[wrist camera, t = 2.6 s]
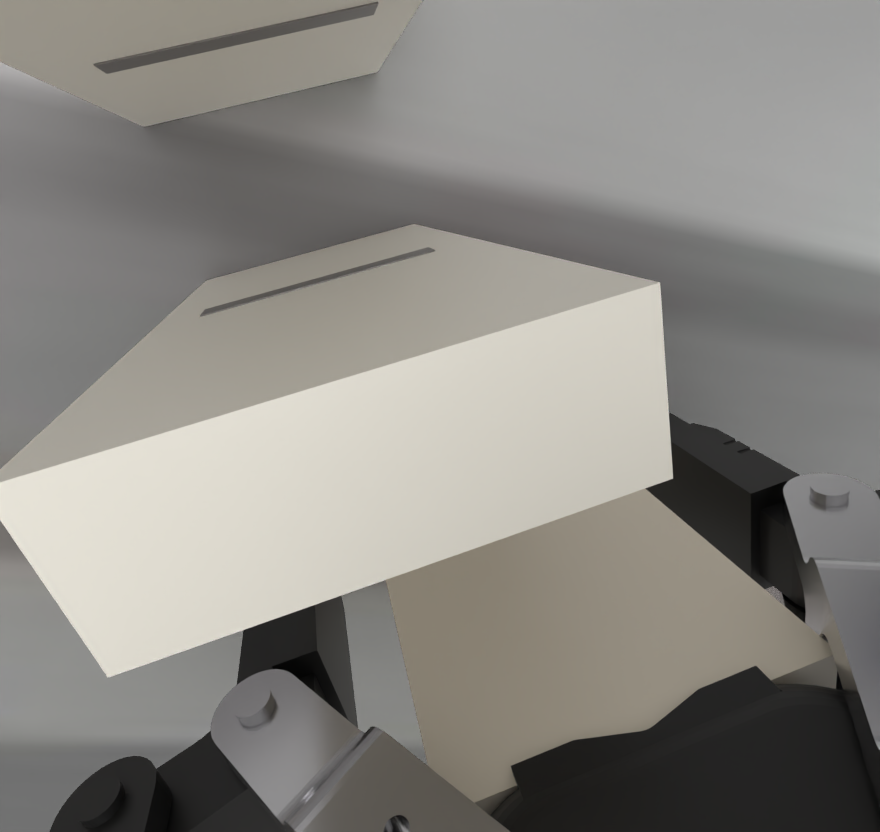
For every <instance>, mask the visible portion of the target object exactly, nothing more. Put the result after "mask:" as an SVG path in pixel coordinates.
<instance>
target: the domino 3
mask: <svg viewBox="0 0 880 832" xmlns="http://www.w3.org/2000/svg"><path fill="white" fill-rule="evenodd" d="M386 584H387V588H388V592H389V597H390V601H391V606H392V610H393V614H394V619H395V623H396V628H397V632H398V636H399V641H400V645H401V649H402V654H403V658H404V663H405V667H406V671H407V676H408V680H409V685H410V689H411V693H412V698H413V702H414V706H415V711H416V715H417V720H418V724H419V728H420V733H421V737H422V742H423V746H424V750H425V755H426V759H427V763H428V767H430V768H431V769H432V770H433V771H435V772H436V773H437V774H438V775H440V776H441V777H442V778H443V779H445V780H446V781H447V782H449V783H450V784H451V785H452V786H454V787H455V788H456V789H457V790H459V791H460V792H461V793H462V794H464V795H465V796H466V797H467V798H469V799H470V800H471V801H472V802H474V803H475V804H476V805H477V806H479V807H480V808H481V809H482V810H484V811H485V812H486V813H488V814H489V815H491V814H492V812H493V811H494V810H495V809H496V808H497V807H498V806H499V805H500V804H501V803H502V802H503V801H504V800H505V799H506V798H507V797H508V796H509V795H511V794H512V793H513V792H514V791H515V790H517V789H518V787H517V784H516V781H515V778H514V776H513V773H512V769H511V766H512V765H514V764H516V763H519V762H521V761H524V760H526V759H529V758H531V757H534V756H536V755H538V754H541V753H543V752H546V751H548V750H551V749H553V748H556V747H558V746H560V745H563V744H565V743H568V742H570V741H573V740H578V739H585V738H593V737H601V736H608V735H616V734H623V733H631V732H639V731H644V730H647V729H649V728H651V727H652V726H654V725H655V724H656V723H657V722H659V721H660V720H661V719H662V718H664V717H665V716H666V715H667V714H668V713H670V712H671V711H672V710H673V709H675V708H676V707H677V706H678V705H680V704H681V703H682V702H683V701H684V700H686V699H687V698H688V697H689V696H691V695H692V694H693V693H694V692H695V691H697V690H698V689H700V688H702V687H705V686H707V685H710V684H712V683H714V682H717V681H719V680H722V679H724V678H727V677H729V676H732V675H734V674H736V673H739V672H741V671H744V670H746V669H749V668H751V667H754V666H757V667H758V668H759V669H760V670H761V671H762V672H763V673H764V674H765V675H766V676H767V677H768V678H769V679H770V680H771V681H772V682H773V683H774V684H775V685H776V684H806V685H817V686H822V687H828V688H834V689H836V681H837V667H836V664H835V661H834V658H833V654H832V651H831V648H830V645H829V643H828V642H826V641H825V640H824V639H823V638H820V637H819V635H818V634H817V633H816V632H815V631H813V630H812V629H811V628H810V627H809V626H807V625H806V624H805V623H804V622H803V621H802V620H800V619H799V618H798V617H797V616H796V615H794V614H793V613H792V612H791V611H790V610H789V609H787V608H786V607H785V606H784V605H783V604H781V603H780V602H779V601H778V600H777V599H775V598H774V597H773V596H772V595H771V594H770V593H768V592H767V591H766V590H765V589H764V588H762V587H761V586H760V585H759V584H758V583H757V582H755V581H754V580H753V579H752V578H751V577H749V576H748V575H747V574H746V573H745V572H743V571H742V570H741V569H740V568H739V567H738V566H736V565H735V564H734V563H733V562H732V561H730V560H729V559H728V558H727V557H726V556H725V555H723V554H722V553H721V552H720V551H719V550H717V549H716V548H715V547H714V546H713V545H711V544H710V543H709V542H708V541H707V540H706V539H704V538H703V537H702V536H701V535H700V534H698V533H697V532H696V531H695V530H694V529H693V528H691V527H690V526H689V525H688V524H687V523H685V522H684V521H683V520H682V519H681V518H679V517H678V516H677V515H676V514H675V513H674V512H672V511H671V510H670V509H669V508H668V507H666V506H665V505H664V504H663V503H662V502H661V501H659V500H658V499H657V498H656V497H655V496H653V495H652V494H651V493H650V492H649V491H647V490H646V489H642V490H639V491H636V492H634V493H631V494H628V495H625V496H622V497H619V498H616V499H614V500H611V501H608V502H605V503H602V504H599V505H597V506H594V507H591V508H588V509H585V510H582V511H580V512H577V513H574V514H571V515H568V516H565V517H563V518H560V519H557V520H554V521H551V522H548V523H546V524H543V525H540V526H537V527H534V528H531V529H529V530H526V531H523V532H520V533H517V534H514V535H512V536H509V537H506V538H503V539H500V540H497V541H495V542H492V543H489V544H486V545H483V546H480V547H477V548H475V549H472V550H469V551H466V552H463V553H460V554H458V555H455V556H452V557H449V558H446V559H443V560H441V561H438V562H435V563H432V564H429V565H426V566H424V567H421V568H418V569H415V570H412V571H409V572H407V573H404V574H401V575H398V576H395V577H392V578H390V579H387V580H386Z"/></svg>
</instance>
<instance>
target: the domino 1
mask: <svg viewBox="0 0 880 832" xmlns="http://www.w3.org/2000/svg"><path fill="white" fill-rule="evenodd" d="M422 2H423V0H0V62H2V63H4V64H6V65H8V66H11V67H13V68H15V69H17V70H19V71H22V72H24V73H26V74H28V75H30V76H33V77H35V78H37V79H39V80H41V81H44V82H46V83H48V84H50V85H52V86H55V87H57V88H59V89H61V90H63V91H66V92H68V93H70V94H72V95H74V96H77V97H79V98H81V99H83V100H85V101H88V102H90V103H92V104H94V105H96V106H99V107H101V108H103V109H105V110H107V111H109V112H112V113H114V114H116V115H118V116H120V117H123V118H125V119H127V120H129V121H131V122H134V123H136V124H138V125H140V126H142V127H146V126H151V125H155V124H159V123H163V122H168V121H172V120H176V119H180V118H185V117H189V116H193V115H198V114H202V113H206V112H210V111H215V110H219V109H223V108H227V107H232V106H236V105H240V104H244V103H249V102H253V101H257V100H262V99H266V98H270V97H274V96H279V95H283V94H287V93H291V92H296V91H300V90H304V89H308V88H313V87H317V86H321V85H325V84H330V83H334V82H338V81H343V80H347V79H351V78H355V77H360V76H364V75H368V74H372V73H377V72H378V71H379V69H380V67H381V66H382V64H383V63H384V61H385V60H386V58H387V56H388V55H389V53H390V52H391V50H392V49H393V47H394V45H395V44H396V42H397V41H398V39H399V38H400V36H401V34H402V33H403V31H404V30H405V28H406V27H407V25H408V24H409V22H410V20H411V19H412V17H413V16H414V14H415V13H416V11H417V9H418V8H419V6H420V5H421V3H422Z"/></svg>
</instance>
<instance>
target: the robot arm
mask: <svg viewBox="0 0 880 832" xmlns="http://www.w3.org/2000/svg"><path fill="white" fill-rule="evenodd" d="M669 423H670V438H671V453H672V468H673V479H670V480H668V481H665V482H662V483H659V484H656V485H653V486H651V487H648V488H645V489H646V490H647V491H649V492H650V493H651V494H652V495H653V496H655V497H656V498H657V499H658V500H659V501H661V502H662V503H663V504H664V505H665V506H666V507H668V508H669V509H670V510H671V511H672V512H674V513H675V514H676V515H677V516H678V517H679V518H681V519H682V520H683V521H684V522H685V523H687V524H688V525H689V526H690V527H691V528H693V529H694V530H695V531H696V532H697V533H698V534H700V535H701V536H702V537H703V538H704V539H706V540H707V541H708V542H709V543H710V544H711V545H713V546H714V547H715V548H716V549H717V550H719V551H720V552H721V553H722V554H723V555H725V556H726V557H727V558H728V559H729V560H730V561H732V562H733V563H734V564H735V565H736V566H738V567H739V568H740V569H741V570H742V571H743V572H745V573H746V574H747V575H748V576H749V577H751V578H752V579H753V580H754V581H755V582H757V583H758V584H759V585H760V586H761V587H762V588H764V589H767V588H769V587H772V586H774V587H775V588H777V589H778V590H779V591H780V603H781V604H783V605H784V606H785V607H786V608H787V609H789V610H790V611H791V612H792V613H793V614H794V615H796V616H797V617H798V618H799V619H800V620H802V621H803V622H804V623H805V624H806V625H807V626H809V627H810V628H811V629H812V630H813V631H815V632H816V633H817V634H818V635H819V637H820V638H823V639H824V640H825V641H826V642H828V643H829V645H830V648H831V651H832V654H833V658H834V661H835V664H836V667H837V681H836V689H834V688H828V687H822V686H817V685H806V684H776V685H775V684H774V683H773V682H772V681H771V680H770V679H769V678H768V677H767V676H766V675H765V674H764V673H763V672H762V671H761V670H760V669H759V668H758V667H757V666H754V667H751V668H749V669H746V670H744V671H741V672H739V673H736V674H734V675H732V676H729V677H727V678H724V679H722V680H719V681H717V682H714V683H712V684H710V685H707V686H705V687H702V688H700V689H698V690H697V691H695V692H694V693H693V694H692V695H691V696H689V697H688V698H687V699H686V700H684V701H683V702H682V703H681V704H680V705H678V706H677V707H676V708H675V709H673V710H672V711H671V712H670V713H668V714H667V715H666V716H665V717H664V718H662V719H661V720H660V721H659V722H657V723H656V724H655V725H654V726H652V727H651V728H649V729H647V730H644V731H639V732H631V733H623V734H616V735H608V736H601V737H593V738H585V739H578V740H573V741H570V742H568V743H565V744H563V745H560V746H558V747H556V748H553V749H551V750H548V751H546V752H543V753H541V754H538V755H536V756H534V757H531V758H529V759H526V760H524V761H521V762H519V763H516V764H514V765H512V766H511V769H512V773H513V776H514V778H515V781H516V784H517V787H518V789H517V790H515V791H514V792H513V793H512V794H511V795H509V796H508V797H507V798H506V799H505V800H504V801H503V802H502V803H501V804H500V805H499V806H498V807H497V808H496V809H495V810H494V811H493V812H492V814H491V815H489V814H488V813H486V812H485V811H484V810H482V809H481V808H480V807H479V806H477V805H476V804H475V803H474V802H472V801H471V800H470V799H469V798H467V797H466V796H465V795H464V794H462V793H461V792H460V791H459V790H457V789H456V788H455V787H454V786H452V785H451V784H450V783H449V782H447V781H446V780H445V779H443V778H442V777H441V776H440V775H438V774H437V773H436V772H435V771H433V770H432V769H431V768H430V767H428V766H427V765H426V764H425V763H423V762H422V761H421V760H420V759H418V758H417V757H416V756H415V755H413V754H412V753H411V752H410V751H408V750H407V749H406V748H404V747H403V746H402V745H401V744H399V743H398V742H397V741H396V740H394V739H393V738H392V737H391V736H389V735H388V734H387V733H385V732H384V731H382V730H381V729H379V728H377V727H370V729H369V730H368V731H367V732H366V733H364V732H362V731H361V730H359V729H358V725H357V716H356V708H355V699H354V690H353V681H352V673H351V664H350V655H349V647H348V638H347V629H346V621H345V612H344V606H343V602H342V598H341V596H338V597H336V598H333V599H330V600H327V601H324V602H321V603H319V604H316V605H313V606H310V607H307V608H304V609H302V610H299V611H296V612H293V613H290V614H287V615H285V616H282V617H279V618H276V619H273V620H270V621H268V622H265V623H262V624H259V625H256V626H253V627H251V628H248V629H245V630H244V631H243V639H242V647H241V656H240V664H239V672H238V680H237V685H236V686H235V687H234V688H233V689H232V690H231V691H230V692H229V693H228V694H227V695H226V696H225V697H224V698H223V700H222V701H221V702H220V704H219V705H218V707H217V709H216V711H215V713H214V716H213V718H212V722H211V731H210V732H209V733H208V734H206V735H205V736H204V737H203V738H202V739H200V740H199V741H198V742H196V743H195V744H193V745H192V746H190V747H189V748H187V749H186V750H184V751H183V752H181V753H180V754H178V755H177V756H175V757H174V758H172V759H171V760H169V761H168V762H166V763H165V764H163V765H161V766H160V767H158V768H157V769H156V768H155V767H154V765H153V764H152V762H151V761H150V760H148V759H147V758H144V757H141V756H131V757H126V758H122V759H119V760H117V761H114V762H112V763H110V764H108V765H106V766H105V767H103V768H101V769H100V770H98V771H97V772H95V773H94V774H93V775H91V776H90V777H89V778H88V779H87V780H85V781H84V782H83V783H82V784H81V785H80V786H79V787H78V788H77V789H76V790H75V791H74V792H73V794H72V795H71V796H70V797H69V798H68V799H67V801H66V802H65V804H64V805H63V806H62V808H61V809H60V811H59V813H58V814H57V816H56V818H55V820H54V823H53V825H52V827H51V830H50V832H880V490H877V491H874V490H873V489H872V488H871V487H870V486H868V485H867V484H865V483H863V482H861V481H859V480H857V479H854V478H851V477H848V476H844V475H839V474H832V473H810V474H804V475H799V474H797V473H795V472H793V471H792V470H790V469H788V468H786V467H784V466H782V465H781V464H779V463H777V462H775V461H773V460H772V459H770V458H768V457H766V456H764V455H763V454H761V453H759V452H757V451H755V450H754V449H753V450H750V447H748V446H746V445H745V444H743V443H741V442H739V441H737V442H736V441H735V439H734V438H732V437H730V436H728V435H727V434H725V433H723V432H721V431H719V430H718V429H714V428H710V427H706V426H702V425H698V424H694V423H693V424H688V423H687V422H685V421H683V420H681V419H680V418H678V417H676V416H674V415H673V414H671V413H669Z"/></svg>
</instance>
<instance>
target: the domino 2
mask: <svg viewBox="0 0 880 832" xmlns="http://www.w3.org/2000/svg"><path fill="white" fill-rule="evenodd" d="M670 479H673V468H672V453H671V438H670V423H669V408H668V393H667V378H666V363H665V349H664V334H663V319H662V304H661V289H660V282H656V281H652V280H647V279H643V278H639V277H635V276H631V275H626V274H622V273H618V272H614V271H610V270H605V269H601V268H597V267H593V266H589V265H584V264H580V263H576V262H572V261H568V260H563V259H559V258H555V257H551V256H547V255H542V254H538V253H534V252H530V251H526V250H521V249H517V248H513V247H509V246H505V245H500V244H496V243H492V242H488V241H484V240H480V239H475V238H471V237H467V236H463V235H459V234H454V233H450V232H446V231H442V230H438V229H433V228H429V227H425V226H421V225H417V224H412V225H408V226H404V227H401V228H397V229H393V230H390V231H386V232H382V233H379V234H375V235H371V236H368V237H364V238H360V239H357V240H353V241H349V242H346V243H342V244H338V245H335V246H331V247H327V248H323V249H320V250H316V251H312V252H309V253H305V254H301V255H298V256H294V257H290V258H287V259H283V260H279V261H276V262H272V263H268V264H265V265H261V266H257V267H254V268H250V269H246V270H243V271H239V272H235V273H232V274H228V275H224V276H221V277H217V278H213V279H209V280H206V281H205V282H204V283H203V284H202V285H201V286H200V287H199V288H197V289H196V290H195V291H194V292H193V293H192V294H191V295H190V296H189V297H188V298H187V299H185V300H184V301H183V302H182V303H181V304H180V305H179V306H178V307H177V308H176V309H175V310H173V311H172V312H171V313H170V314H169V315H168V316H167V317H166V318H165V319H164V320H163V321H161V322H160V323H159V324H158V325H157V326H156V327H155V328H154V329H153V330H152V331H151V332H149V333H148V334H147V335H146V336H145V337H144V338H143V339H142V340H141V341H140V342H139V343H137V344H136V345H135V346H134V347H133V348H132V349H131V350H130V351H129V352H128V353H127V354H125V355H124V356H123V357H122V358H121V359H120V360H119V361H118V362H117V363H116V364H115V365H113V366H112V367H111V368H110V369H109V370H108V371H107V372H106V373H105V374H104V375H103V376H101V377H100V378H99V379H98V380H97V381H96V382H95V383H94V384H93V385H92V386H91V387H89V388H88V389H87V390H86V391H85V392H84V393H83V394H82V395H81V396H80V397H79V398H77V399H76V400H75V401H74V402H73V403H72V404H71V405H70V406H69V407H68V408H67V409H65V410H64V411H63V412H62V413H61V414H60V415H59V416H58V417H57V418H56V419H55V420H53V421H52V422H51V423H50V424H49V425H48V426H47V427H46V428H45V429H44V430H43V431H41V432H40V433H39V434H38V435H37V436H36V437H35V438H34V439H33V440H32V441H31V442H29V443H28V444H27V445H26V446H25V447H24V448H23V449H22V450H21V451H20V452H19V453H17V454H16V455H15V456H14V457H13V458H12V459H11V460H10V461H9V462H8V463H7V464H5V465H4V466H3V467H2V468H1V469H0V520H1V522H2V523H3V525H4V526H5V528H6V529H7V531H8V532H9V534H10V535H11V536H12V538H13V539H14V541H15V542H16V544H17V545H18V547H19V548H20V550H21V551H22V553H23V554H24V555H25V557H26V558H27V560H28V561H29V563H30V564H31V566H32V567H33V569H34V570H35V572H36V573H37V574H38V576H39V577H40V579H41V580H42V582H43V583H44V585H45V586H46V588H47V589H48V590H49V592H50V593H51V595H52V596H53V598H54V599H55V601H56V602H57V604H58V605H59V607H60V608H61V609H62V611H63V612H64V614H65V615H66V617H67V618H68V620H69V621H70V623H71V624H72V625H73V627H74V628H75V630H76V631H77V633H78V634H79V636H80V637H81V639H82V640H83V642H84V643H85V644H86V646H87V647H88V649H89V650H90V652H91V653H92V655H93V656H94V658H95V659H96V660H97V662H98V663H99V665H100V666H101V668H102V669H103V671H104V672H105V674H106V675H107V677H108V678H109V677H112V676H114V675H117V674H120V673H123V672H126V671H129V670H131V669H134V668H137V667H140V666H143V665H146V664H148V663H151V662H154V661H157V660H160V659H163V658H165V657H168V656H171V655H174V654H177V653H180V652H182V651H185V650H188V649H191V648H194V647H197V646H199V645H202V644H205V643H208V642H211V641H214V640H217V639H219V638H222V637H225V636H228V635H231V634H234V633H236V632H239V631H242V630H245V629H248V628H251V627H253V626H256V625H259V624H262V623H265V622H268V621H270V620H273V619H276V618H279V617H282V616H285V615H287V614H290V613H293V612H296V611H299V610H302V609H304V608H307V607H310V606H313V605H316V604H319V603H321V602H324V601H327V600H330V599H333V598H336V597H338V596H341V595H344V594H347V593H350V592H353V591H356V590H358V589H361V588H364V587H367V586H370V585H373V584H375V583H378V582H381V581H384V580H387V579H390V578H392V577H395V576H398V575H401V574H404V573H407V572H409V571H412V570H415V569H418V568H421V567H424V566H426V565H429V564H432V563H435V562H438V561H441V560H443V559H446V558H449V557H452V556H455V555H458V554H460V553H463V552H466V551H469V550H472V549H475V548H477V547H480V546H483V545H486V544H489V543H492V542H495V541H497V540H500V539H503V538H506V537H509V536H512V535H514V534H517V533H520V532H523V531H526V530H529V529H531V528H534V527H537V526H540V525H543V524H546V523H548V522H551V521H554V520H557V519H560V518H563V517H565V516H568V515H571V514H574V513H577V512H580V511H582V510H585V509H588V508H591V507H594V506H597V505H599V504H602V503H605V502H608V501H611V500H614V499H616V498H619V497H622V496H625V495H628V494H631V493H634V492H636V491H639V490H642V489H645V488H648V487H651V486H653V485H656V484H659V483H662V482H665V481H668V480H670Z"/></svg>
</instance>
